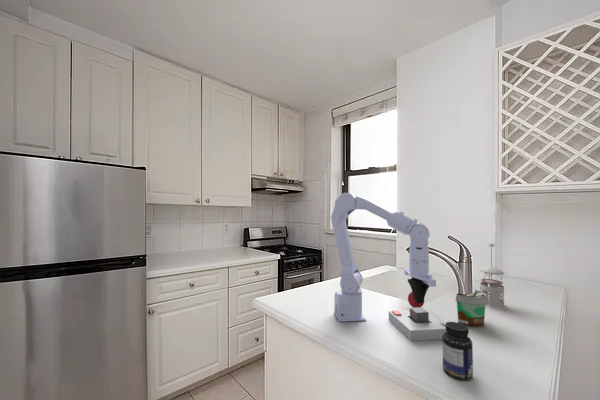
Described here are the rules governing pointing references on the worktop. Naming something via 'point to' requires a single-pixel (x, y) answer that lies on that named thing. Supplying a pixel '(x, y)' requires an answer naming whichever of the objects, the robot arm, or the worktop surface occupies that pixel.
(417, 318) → the plug
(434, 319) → the socket plate
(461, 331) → the pill bottle
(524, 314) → the worktop surface
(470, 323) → the food container
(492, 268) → the french press
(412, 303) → the onion
